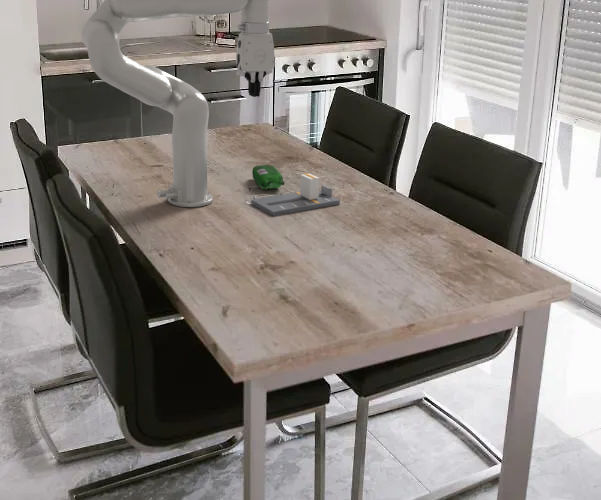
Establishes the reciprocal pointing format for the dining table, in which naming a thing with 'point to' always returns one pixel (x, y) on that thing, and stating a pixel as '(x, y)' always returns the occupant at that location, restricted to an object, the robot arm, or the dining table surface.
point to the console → (295, 202)
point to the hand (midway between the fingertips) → (254, 95)
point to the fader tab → (309, 186)
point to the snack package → (267, 176)
